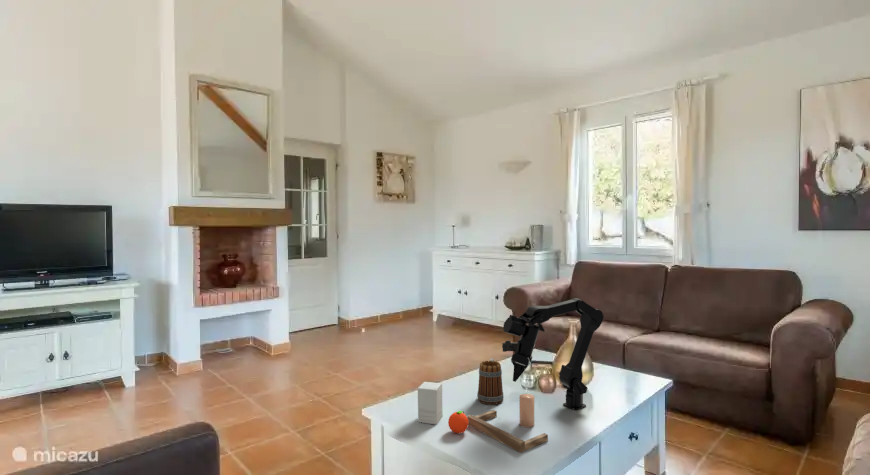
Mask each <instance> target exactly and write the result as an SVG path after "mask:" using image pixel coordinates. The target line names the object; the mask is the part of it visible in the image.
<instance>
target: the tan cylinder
mask: <svg viewBox="0 0 870 475" xmlns="http://www.w3.org/2000/svg"><path fill="white" fill-rule="evenodd" d="M519 425H520V426H521V427H523V428H533V427H534V426H535V396H534V394H531V393H522V394H519Z"/></svg>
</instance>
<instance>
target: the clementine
mask: <svg viewBox="0 0 870 475" xmlns="http://www.w3.org/2000/svg"><path fill="white" fill-rule="evenodd" d="M467 416H468V415H466V413H465V412H464V411H463V410H458V411H455V412H453V413H451V415H449V417H448V428H449V430H451V432H453V433H455V434H463V433H464V432H466V430H467V429H468V426H469V425H468V423H469V422H468V418H467Z"/></svg>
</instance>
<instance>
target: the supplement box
mask: <svg viewBox="0 0 870 475" xmlns="http://www.w3.org/2000/svg"><path fill="white" fill-rule="evenodd" d="M443 407H444V406H443V383H440V382H429V381H423V382H422V384H420V385H419V386H418V387H417V416H418V417H417V418H418V419H417V421H418V423H421V422H422V423H423V424H429V425H431V424H432V425H438V423H439V422H440V421H441V420H442V418H443V417H444V416H443V415H444V414H443V410H444V409H443Z"/></svg>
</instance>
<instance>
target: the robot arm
mask: <svg viewBox="0 0 870 475" xmlns="http://www.w3.org/2000/svg"><path fill="white" fill-rule="evenodd" d="M572 312H576V313H578V314H579V315H580V318H579V323H580V330H579V333H578V335H577V339H576V342H575V344H574V348H573V350H572V353H571V356H570V359H569V361H568V363H567V364H566V365H565V364H562V365H561V366H560V370H559V372H558V375H559V376H558V379H559V381H560V383H561V384H562V387H563V388H564V389H566V391H565V402H564V403H562V405H563V406H564V407H567V408H570V409H572V410H575V411H578V410H580V409H583V408H586V407H587V404H585V403H584V394H587V391H588V386H586V385H585V383H583V377H584V375H583V369H582V368H583V364H584V361H585V359H586V357H587V356H586V355H587V352H588V350H589V347H590V345H591V341H592V338H593V335H594V333H595V332H596V331H597V330H598V329H600V327H601V325H602V323H603V321H604V318H605V316H604V313H603V312H602V310H600V309H597V308H594V307H593V306H591V305H589V304H588V303H587V302H585V301H584V300H583V299H581V298H575V297H574V298H572V299H568V300H564V301H560V302H556V303H553V304H550V305H531V306H528V307H527V309H526V311H525V312H523V313H522V314H521V315H520V316H516V315H513V314H510V315H509V317H507V319H506V320H505V321H504V322H503V328H502V329H503V332H504V333H506V334H509V335H514V336H516V337H520V338H519V339H518V340H517V342H511V340H505V341H504V342H502V344H501V345H502V346H501V347H502V348H501V349H502V352H504V353H505V352H506V353H507V352H514V353H513V354H512V355H511V358H510V361H511V363H512V365H513V373H512V374H513V375H512V381H513V382H516V383H517V381H518V380H519V378H520V377H521V376H522V374H523V373H524V372H525V371H526V369H527V368H528V367H529V366H530V365H531V363H532V360H533V352H534V348H535V346H536V342H537V338H538V335H539V332H540V331H541V332H543V333H545V332H546V331H545V328H544V326H543V324H544V323H545V322H546V323H547V322H548V321H550V319H551V318H553V317H556V316H559V315H560V316H561V315H564V314H568V313H572Z"/></svg>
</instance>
